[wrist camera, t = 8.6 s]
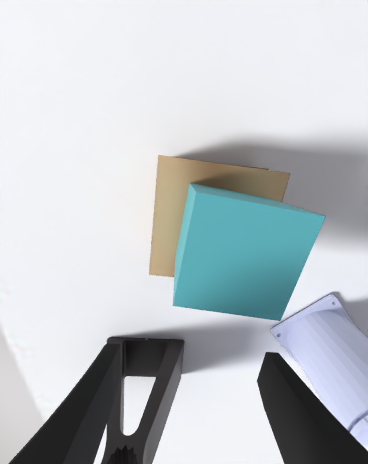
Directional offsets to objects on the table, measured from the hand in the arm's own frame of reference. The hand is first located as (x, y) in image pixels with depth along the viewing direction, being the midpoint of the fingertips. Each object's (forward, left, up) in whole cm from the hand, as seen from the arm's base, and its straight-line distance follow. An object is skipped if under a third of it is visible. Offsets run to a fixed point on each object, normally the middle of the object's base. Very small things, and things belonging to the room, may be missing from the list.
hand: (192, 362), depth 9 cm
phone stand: (-7, +12, -11) cm, 18 cm away
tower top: (+3, -5, -8) cm, 10 cm away
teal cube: (+3, -5, -5) cm, 8 cm away
